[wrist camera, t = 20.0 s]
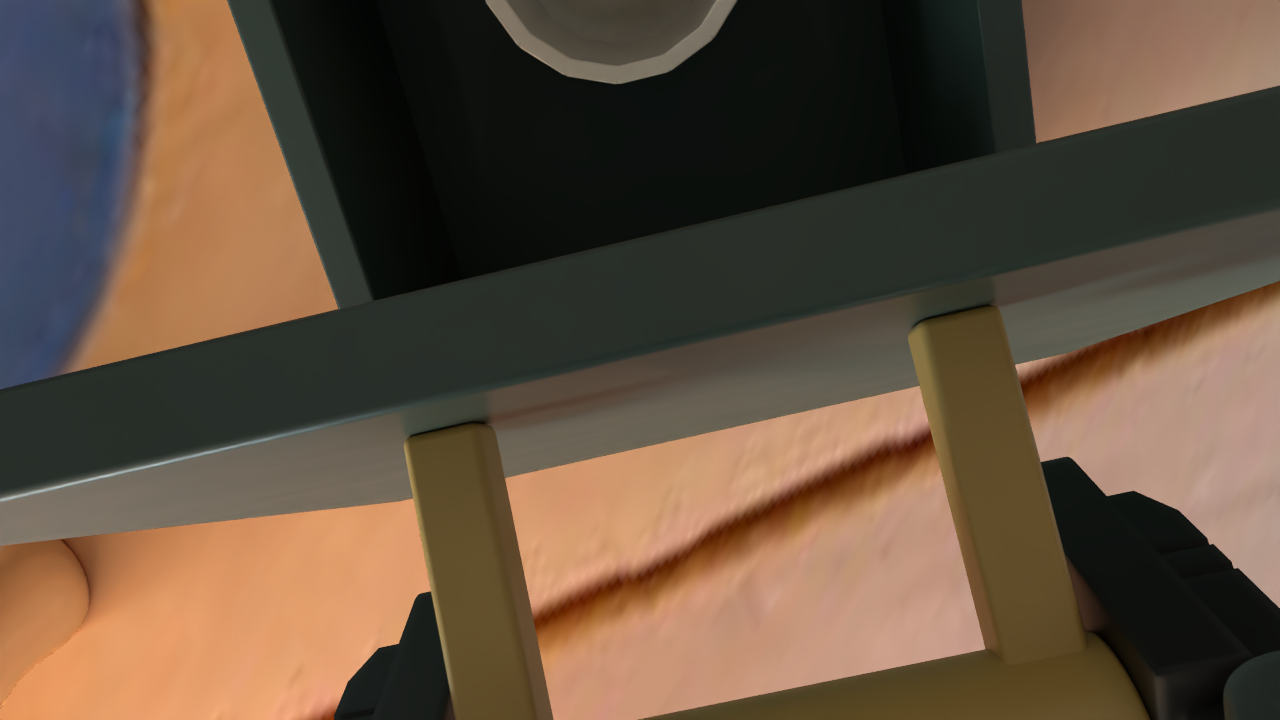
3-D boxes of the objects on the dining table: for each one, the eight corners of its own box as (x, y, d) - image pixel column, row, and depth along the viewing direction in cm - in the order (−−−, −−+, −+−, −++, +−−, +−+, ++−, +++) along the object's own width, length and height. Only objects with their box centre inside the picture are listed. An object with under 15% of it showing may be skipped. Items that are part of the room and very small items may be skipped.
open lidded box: (286, -205, 29) (122, -285, 19) (853, -362, 27) (967, -528, 18) (460, 338, 34) (398, 476, 25) (936, 227, 33) (1056, 329, 24)
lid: (-396, 480, 8) (-315, 1304, 7) (1895, -65, 6) (2251, 865, 6) (390, 468, 25) (436, 707, 24) (1059, 318, 23) (1125, 564, 23)
